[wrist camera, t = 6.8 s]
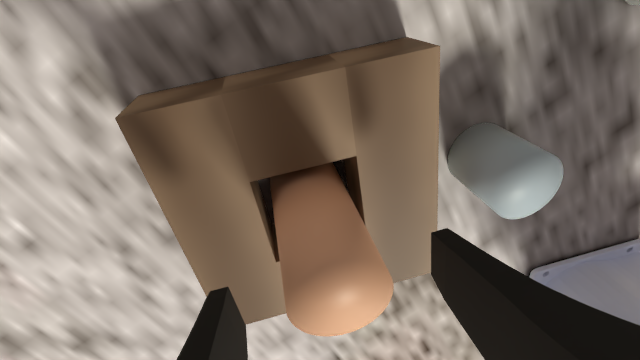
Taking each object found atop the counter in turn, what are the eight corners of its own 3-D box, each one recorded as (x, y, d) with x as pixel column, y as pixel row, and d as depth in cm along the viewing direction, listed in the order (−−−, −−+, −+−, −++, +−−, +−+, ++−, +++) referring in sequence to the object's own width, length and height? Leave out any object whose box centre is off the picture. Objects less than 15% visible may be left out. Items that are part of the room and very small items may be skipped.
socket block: (406, 37, 15) (440, 46, 12) (413, 237, 21) (436, 270, 19) (138, 95, 14) (115, 118, 12) (226, 287, 20) (224, 330, 18)
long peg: (330, 141, 17) (388, 243, 10) (341, 199, 19) (397, 317, 12) (261, 160, 17) (272, 276, 10) (280, 216, 18) (299, 347, 12)
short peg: (509, 115, 18) (570, 144, 15) (502, 172, 20) (555, 208, 17) (448, 131, 18) (496, 163, 14) (446, 186, 20) (488, 227, 16)
